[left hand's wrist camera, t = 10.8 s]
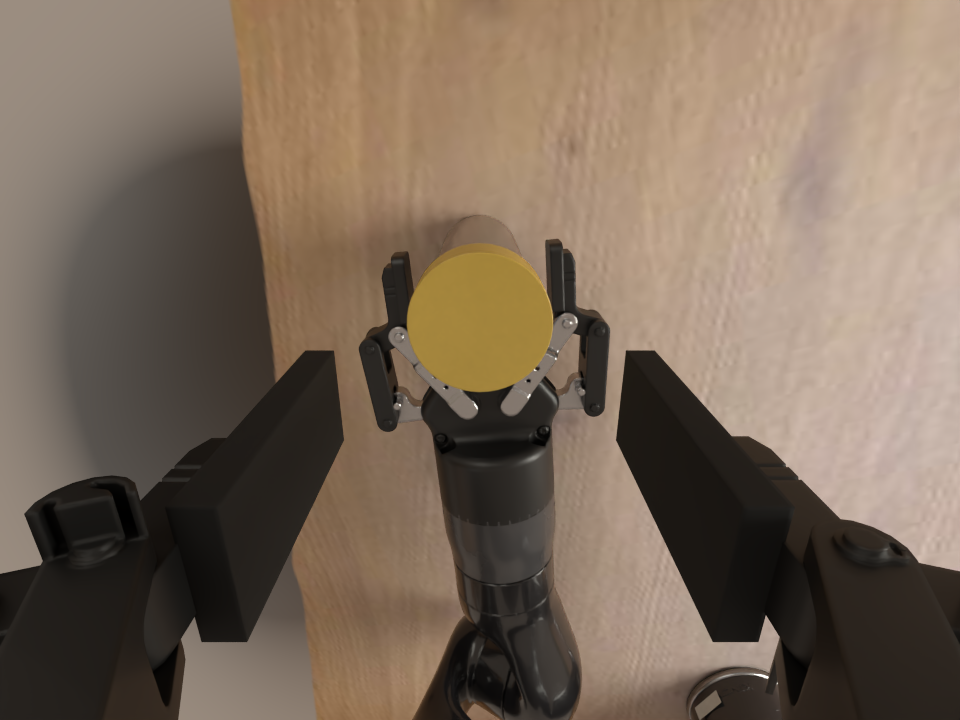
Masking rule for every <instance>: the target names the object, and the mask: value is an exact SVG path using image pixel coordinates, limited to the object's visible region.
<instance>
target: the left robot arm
mask: <svg viewBox="0 0 960 720" xmlns="http://www.w3.org/2000/svg"><path fill="white" fill-rule="evenodd" d="M343 441H344V437H343V428H342V419H341V410H340V401H339V392H338V383H337V374H336V365H335V356H334V351H305V352H304V353H303V354H302V355H301V356H300V357H299V358H298V359H297V360H296V362H295V363H294V364H293V365H292V366H291V367H290V368H289V369H288V371H287V372H286V373H285V374H284V375H283V376H282V377H281V378H280V379H279V381H278V382H277V383H276V384H275V385H274V386H273V387H272V389H270V391H269V392H268V393H267V394H266V395H265V396H264V397H263V398H262V399H261V401H260V402H259V403H258V404H257V405H256V406H255V407H254V408H253V410H252V411H251V412H250V413H249V414H248V415H247V416H246V417H245V418H244V420H243V421H242V422H241V423H240V424H239V425H238V426H237V427H236V428H235V430H234V431H233V432H232V433H231V434H230V435H229V436H228V437H227V438H211V439H209V440H208V441H206V442H204V443H203V444H201V445H199V446H197V447H196V448H194V449H192V450H190V451H189V452H188V453H187V454H186V455H185V456H184V457H183V458H182V459H181V460H180V461H179V462H178V463H177V464H176V465H175V468H174V469H171V470H170V471H169V472H168V473H167V474H166V475H165V476H164V477H163V478H162V482H158V484H156V486H155V487H154V488H153V489H152V490H151V491H150V492H149V493H148V494H147V495H146V496H145V497H144V498H143V499H142V500H141V501H140V499H139V495H138V492H137V488H136V485H135V483H134V482H133V481H131V480H130V479H128V478H126V477H120V476H103V477H94V478H90V479H86V480H82V481H79V482H75V483H72V484H70V485H67V486H65V487H62V488H60V489H58V490H55V491H53V492H51V493H49V494H48V495H46V496H45V497H43V498H42V499H40V500H38V501H37V502H35V503H34V504H33V505H32V506H31V507H30V508H29V509H28V510H27V512H26V513H25V514H24V515H25V517H26V520H27V522H28V525H29V527H30V530H31V532H32V535H33V537H34V540H35V542H36V545H37V547H38V550H39V552H40V555H41V557H42V560H43V562H42V564H41V565H40V566H36V567H31V568H26V569H22V570H17V571H12V572H7V573H2V574H0V720H178V716H179V708H180V700H181V692H182V683H183V675H184V667H185V655H184V649H183V645H182V642H181V638H182V636H183V634H184V633H185V631H186V630H187V628H188V626H189V625H190V623H191V622H192V620H193V618H194V617H195V619H196V623H197V627H198V630H199V634H200V638H201V641H202V642H247V641H248V639H249V637H250V635H251V633H252V631H253V629H254V626H255V624H256V622H257V620H258V618H259V616H260V614H261V612H262V610H263V608H264V606H265V604H266V601H267V599H268V597H269V595H270V593H271V591H272V589H273V587H274V585H275V583H276V580H277V578H278V576H279V574H280V572H281V570H282V568H283V566H284V564H285V562H286V560H287V558H288V556H289V553H290V551H291V549H292V547H293V545H294V543H295V541H296V539H297V537H298V535H299V533H300V531H301V528H302V526H303V524H304V522H305V520H306V518H307V516H308V514H309V512H310V510H311V508H312V506H313V503H314V501H315V499H316V497H317V495H318V493H319V491H320V489H321V487H322V485H323V483H324V480H325V478H326V476H327V474H328V472H329V470H330V468H331V466H332V464H333V462H334V460H335V458H336V455H337V453H338V451H339V449H340V447H341V445H342V443H343ZM616 441H617V443H618V445H619V447H620V449H621V451H622V453H623V455H624V458H625V460H626V462H627V464H628V466H629V468H630V470H631V472H632V474H633V476H634V478H635V480H636V483H637V485H638V487H639V489H640V491H641V493H642V495H643V497H644V499H645V501H646V503H647V506H648V508H649V510H650V512H651V514H652V516H653V518H654V520H655V522H656V524H657V526H658V528H659V531H660V533H661V535H662V537H663V539H664V541H665V543H666V545H667V547H668V549H669V551H670V553H671V556H672V558H673V560H674V562H675V564H676V566H677V568H678V570H679V572H680V574H681V576H682V579H683V581H684V583H685V585H686V587H687V589H688V591H689V593H690V595H691V597H692V599H693V601H694V604H695V606H696V608H697V610H698V612H699V614H700V616H701V618H702V620H703V622H704V624H705V627H706V629H707V631H708V633H709V635H710V637H711V639H712V641H713V642H758V641H759V638H760V634H761V630H762V627H763V623H764V619H765V616H767V617H768V619H769V620H770V622H771V624H772V625H773V627H774V628H775V630H776V632H777V633H778V635H779V636H780V638H779V642H778V645H777V649H776V652H775V655H774V659H773V662H772V666H771V669H770V673H769V676H768V679H767V684H766V690H765V693H767V694H770V695H773V693H774V689H775V686H776V683H778V690H779V698H780V706H781V715H782V720H960V571H955V570H950V569H945V568H940V567H936V566H931V565H926V564H921V563H918V561H917V559H916V558H915V557H914V556H913V554H912V553H911V552H910V551H909V549H908V548H907V547H905V546H904V545H903V544H901V543H900V542H899V541H897V540H896V539H894V538H893V537H892V536H890V535H888V534H886V533H884V532H882V531H880V530H878V529H876V528H874V527H871V526H868V525H865V524H861V523H858V522H855V521H850V520H842V519H840V518H839V517H838V516H837V515H836V514H835V513H834V512H833V511H832V510H831V509H830V508H829V507H828V506H827V505H826V504H825V503H824V502H823V501H822V500H821V499H820V498H819V497H818V496H817V495H816V494H815V493H814V492H813V491H812V490H811V489H810V488H809V487H808V486H807V485H806V484H805V483H804V482H803V481H802V480H798V476H797V475H796V474H795V473H794V472H793V471H792V470H791V469H790V468H789V467H786V464H785V463H784V462H783V461H782V460H781V459H780V458H779V457H778V456H777V455H776V454H775V453H774V452H773V451H772V450H771V449H770V448H768V447H766V446H764V445H763V444H761V443H759V442H757V441H756V440H754V439H752V438H750V437H749V436H731V435H730V434H729V433H728V432H727V431H726V430H725V428H724V427H723V426H722V425H721V424H720V423H719V422H718V421H717V420H716V418H715V417H714V416H713V415H712V414H711V413H710V412H709V411H708V410H707V408H706V407H705V406H704V405H703V404H702V403H701V402H700V401H699V399H698V398H697V397H696V396H695V395H694V394H693V393H692V392H691V391H690V389H689V388H688V387H687V386H686V385H685V384H684V383H683V382H682V381H681V379H680V378H679V377H678V376H677V375H676V374H675V373H674V372H673V371H672V369H671V368H670V367H669V366H668V365H667V364H666V363H665V362H664V360H663V359H662V358H661V357H660V356H659V355H658V354H657V353H656V352H655V351H626V356H625V365H624V374H623V383H622V392H621V401H620V410H619V419H618V428H617V437H616Z"/></svg>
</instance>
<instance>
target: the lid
mask: <svg viewBox="0 0 960 720" xmlns="http://www.w3.org/2000/svg"><path fill="white" fill-rule="evenodd" d="M407 331H408V337H409V341H410V344H411V346H412V349H413V351H414V353H415V355H416V357H417V358H418V360H419V361H420V363H421V364H422V365H423V367H424V368H425V369H426V370H427V371H428V372H429V373H430V374H432V375H433V376H434V377H435V378H437V379H438V380H440V381H442V382H443V383H445V384H447V385H449V386H452V387H454V388H457V389H461V390H465V391H471V392H489V391H495V390H499V389H503V388H506V387H508V386H511V385H513V384H515V383H517V382H518V381H520V380H522V379H523V378H524V377H526V376H527V375H528V374H530V373H531V372H532V371H533V370H534V369H535V368H536V366H537V365H538V364H539V363H540V361H541V360H542V358H543V357H544V355H545V353H546V351H547V349H548V346H549V344H550V340H551V337H552V331H553V313H552V307H551V304H550V300H549V298H548V295H547V293H546V291H545V289H544V287H543V285H542V283H541V281H540V278H539V277H538V275H537V274H536V272H535V270H534V269H533V268H532V267H531V266H530V264H529V263H527V262H526V261H525V260H524V259H523V258H522V257H520V256H519V255H518V254H516V253H514V252H512V251H511V250H509V249H506V248H504V247H501V246H497V245H493V244H485V243H475V244H467V245H462V246H459V247H456V248H454V249H451V250H449V251H447V252H445V253H444V254H442V255H441V256H440V257H438V258H437V259H436V260H435V261H434V262H432V263H431V265H430V266H429V267H428V268H427V269H426V270H425V272H424V274H423V275H422V277H421V279H420V281H419V283H418V285H417V287H416V289H415V291H414V293H413V295H412V297H411V300H410V304H409V307H408V313H407Z"/></svg>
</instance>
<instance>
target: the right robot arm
mask: <svg viewBox="0 0 960 720" xmlns="http://www.w3.org/2000/svg"><path fill="white" fill-rule="evenodd" d="M545 248H546V274H547V295H548V298H549V300H550V304H551V307H552V313H553V331H552V337H551V340H550V344H549V346H548V349H547V351H546V353H545V355H544V357H543V358H542V360H541V361H540V363H539V364H538V365H537V366H536V368H535V369H534V370H533V371H532V372H531V373H530V374H528V375H527V376H526V377H524V378H523V379H522V380H520V381H518V382H517V383H515V384H513V385H511V386H508V387H506V388H503V389H499V390H495V391H489V392H471V391H465V390H461V389H457V388H454V387H452V386H449V385H447V384H445V383H443V382H442V381H440V380H438V379H437V378H435V377H434V376H433V375H432V374H430V373H429V372H428V371H427V370H426V369H425V368H424V367H423V365H422V364H421V363H420V361H419V360H418V358H417V357H416V355H415V353H414V351H413V349H412V346H411V344H410V341H409V337H408V331H407V313H408V307H409V304H410V300H411V297H412V295H413V293H414V289H413V282H412V274H411V267H410V260H409V254H408V252H407V251H406V252H395V253H394V254H393V256H392V257H391V263H389V264H387V266H386V267H385V268H384V271H383V275H382V282H383V288H384V295H385V301H386V308H387V314H388V323H386V324H384V325H382V326H380V327H373V328H371V329H370V330H369V332H368V333H367V335H366V337H365V339H364V340H363V341H362V343H361V344H360V346H359V353H360V357H361V361H362V365H363V369H364V373H365V376H366V380H367V384H368V388H369V392H370V396H371V400H372V404H373V408H374V412H375V416H376V420H377V424H378V427H379V428H380V429H381V430H383V431H385V432H390V431H393V430H394V429H395V428H396V427H397V424H398V423H402V422H410V421H418V420H424V422H425V423H426V424H427V425H428V427H429V428H430V430H431V432H432V436H433V442H434V449H435V456H436V464H437V471H438V478H439V485H440V493H441V500H442V507H443V514H444V521H445V528H446V533H447V537H448V540H449V543H450V546H451V549H452V554H453V560H454V567H455V575H456V582H457V590H458V596H459V601H460V604H461V607H462V610H463V612H464V614H465V615H464V616H463V617H462V619H461V620H460V621H459V622H458V624H457V625H456V627H455V629H454V631H453V633H452V635H451V637H450V639H449V642H448V644H447V647H446V649H445V651H444V654H443V656H442V659H441V661H440V664H439V666H438V668H437V671H436V673H435V675H434V677H433V679H432V681H431V683H430V685H429V688H428V690H427V692H426V694H425V696H424V698H423V700H422V702H421V704H420V706H419V708H418V710H417V712H416V714H415V715H414V717H413V719H412V720H471V719H470V718H469V717H468V715H467V712H468V710H469V709H470V707H471V706H472V705H473V704H474V703H475V704H477V705H479V706H480V707H482V708H483V709H485V710H487V711H488V712H490V713H491V714H493V715H494V716H496V717H497V718H499V719H500V720H571V719H572V717H573V715H574V713H575V711H576V709H577V706H578V703H579V699H580V694H581V685H582V668H581V661H580V654H579V650H578V646H577V643H576V640H575V637H574V634H573V631H572V629H571V626H570V624H569V621H568V619H567V616H566V613H565V611H564V608H563V605H562V603H561V600H560V598H559V595H558V593H557V591H556V589H555V586H554V565H553V537H554V529H555V499H554V473H553V448H552V421H553V418H554V416H555V414H556V412H557V411H558V409H584V410H585V412H586V414H587V415H589V416H592V417H595V416H599V415H600V414H602V412H603V411H604V408H605V395H606V381H607V367H608V353H609V338H610V328H609V326H608V325H607V323H606V322H605V321H604V319H603V318H602V317H601V315H600V314H599V313H598V312H597V311H595V310H585V309H581V308H579V307H577V306H576V281H575V279H576V277H575V260H574V258H573V256H572V253H571V252H570V251H569V250H568V249H563V246H562V242H561V241H560V240H559V239H551V240H546V242H545ZM572 333H574V334H578V335H580V347H579V367H578V372H576V373H573V374H571V375H570V376H569V377H568V380H567V384H566V385H565V387H563V388H562V389H559V390H556V388H555V387H554V385H553V384H552V383H551V382H550V381H549V380H548V378H547V377H546V376H545V375H546V373H547V372H548V371H549V369H550V368H551V367H552V365H553V364H554V363H555V361H556V359H557V357H558V353H559V351H560V350H561V348H562V347H563V346H564V344H565V343H566V342H567V340H568V339H569V337H570V336H571V335H572ZM393 348H396V349H397V350H398V351H399V352H400V353H402V354H403V355H404V356H405V357H406V358H407V359H408V360H409V361H410V362H411V363H412V365H413V367H414V369H415V371H416V372H417V373H418V374H419V375H420V376H421V377H422V378H423V379H424V380H425V381H426V382H427V383H428V384H429V385H430V387H429V389H428V390H427V392H426V393H425V395H424V397H423V400H416V399H414V398H413V397H412V396H411V394H410V392H409V390H408V389H407V388H405V387H402V386H398V382H397V377H396V373H395V368H394V364H393V359H392V355H391V351H390V350H391V349H393ZM768 676H769V673H767V672H765V671H762V670H759V669H753V668H734V669H728V670H724V671H721V672H718V673H716V674H713V675H711V676H709V677H708V678H706V679H704V680H703V681H701V682H700V683H699V684H698V685H697V686H696V687H695V688H694V689H693V690H692V692H691V693H690V695H689V698H688V701H687V712H688V715H689V718H690V720H782V715H781V706H780V698H779V690H778V683H776V686H775V689H774V693H773V695H770V694H767V693H765V690H766V684H767V679H768Z"/></svg>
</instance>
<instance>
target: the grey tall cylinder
mask: <svg viewBox="0 0 960 720" xmlns="http://www.w3.org/2000/svg"><path fill="white" fill-rule="evenodd" d="M475 243H485V244H493V245H497V246H501V247H504V248H506V249H509V250H511V251H512V252H514V253H516V254H518V255H519V256H520V257H522V256H521V253H520V251H519V249H518V246H517V244H516V241H515V239H514V237H513V235H512V233H511V231H510V230H509V229H508V228H507V227H506V226H505V225H504V224H503V223H502V222H500V221H499V220H497V219H495V218H492V217H489V216H483V215H477V216H471V217H468V218H465V219H463V220H461V221H460V222H458V223H457V224H456V225H455V226H453V228H452V229H451V230H450V231H449V233H448V235H447V237H446V239H445V241H444V244H443V246H442V248H441V251H440V253H439V256H438V257H440V256H441V255H442V254H444V253H445V252H447V251H449V250H451V249H454V248H456V247H459V246H462V245H467V244H475Z"/></svg>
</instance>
